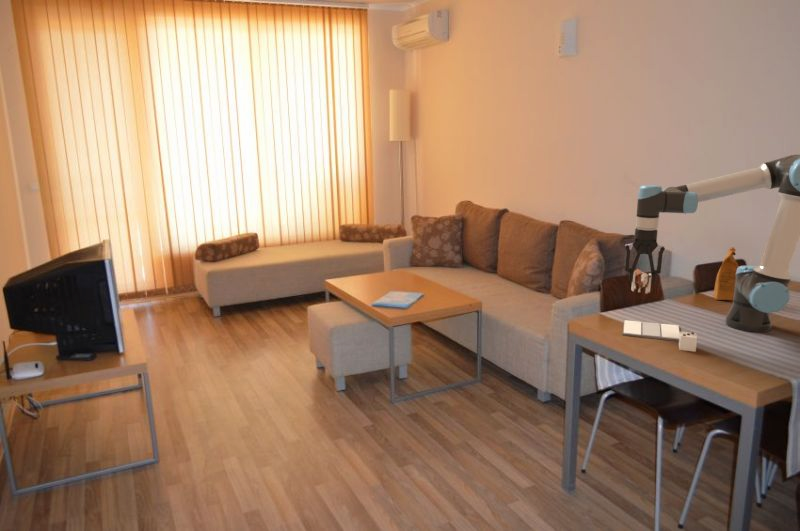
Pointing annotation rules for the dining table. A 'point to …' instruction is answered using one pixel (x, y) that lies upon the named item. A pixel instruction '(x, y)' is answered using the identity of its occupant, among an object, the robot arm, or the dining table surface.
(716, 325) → the dining table surface
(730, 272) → the coffee package
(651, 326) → the game board
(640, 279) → the bull figurine
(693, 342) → the white block with holes
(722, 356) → the dining table surface
